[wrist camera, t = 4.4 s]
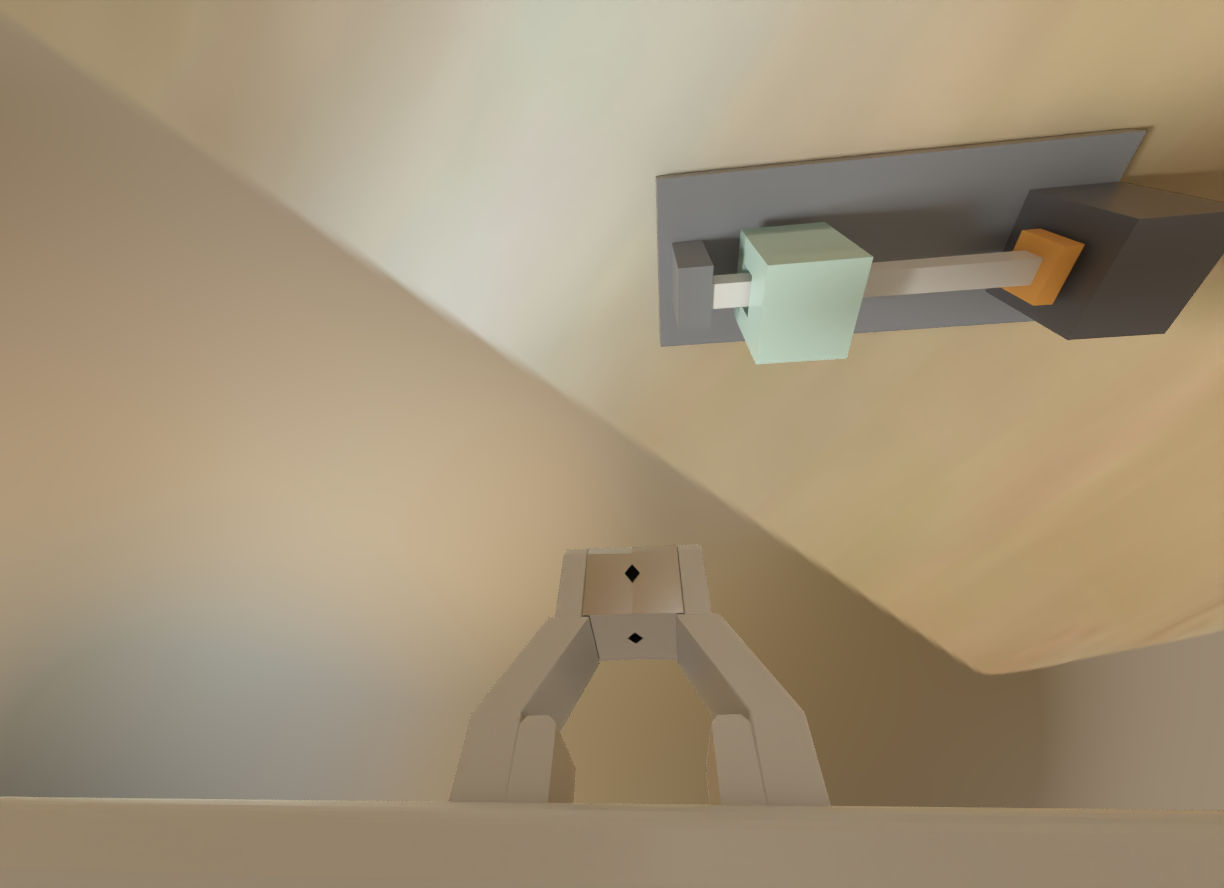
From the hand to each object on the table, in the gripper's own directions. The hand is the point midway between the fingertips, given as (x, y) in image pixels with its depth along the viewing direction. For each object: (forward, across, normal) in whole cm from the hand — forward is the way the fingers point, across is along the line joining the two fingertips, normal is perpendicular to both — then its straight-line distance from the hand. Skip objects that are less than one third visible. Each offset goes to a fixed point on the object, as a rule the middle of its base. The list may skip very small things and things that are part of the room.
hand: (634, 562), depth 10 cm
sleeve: (+18, -8, 0) cm, 19 cm away
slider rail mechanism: (+20, -13, 0) cm, 24 cm away
